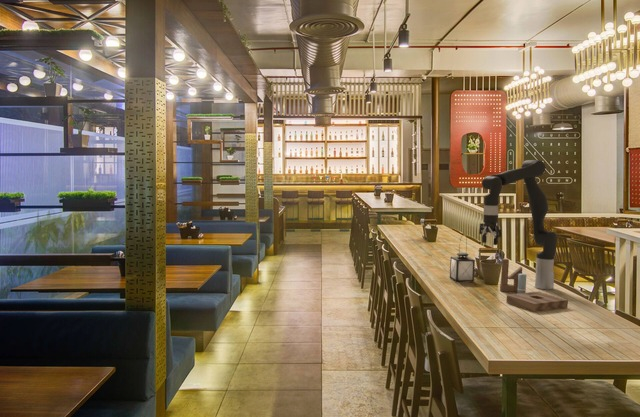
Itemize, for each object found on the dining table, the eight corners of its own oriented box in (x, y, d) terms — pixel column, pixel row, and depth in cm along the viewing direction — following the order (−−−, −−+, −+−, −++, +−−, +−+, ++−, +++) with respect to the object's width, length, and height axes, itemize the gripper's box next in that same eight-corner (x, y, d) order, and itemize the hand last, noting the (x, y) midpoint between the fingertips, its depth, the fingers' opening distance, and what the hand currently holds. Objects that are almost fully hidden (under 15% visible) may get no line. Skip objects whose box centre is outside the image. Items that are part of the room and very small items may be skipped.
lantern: (466, 277, 313) (468, 233, 311) (474, 281, 302) (476, 235, 300) (449, 277, 312) (451, 233, 310) (456, 281, 301) (458, 235, 299)
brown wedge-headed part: (521, 292, 277) (522, 260, 275) (500, 291, 279) (502, 259, 277) (519, 291, 280) (521, 259, 279) (499, 289, 282) (501, 258, 281)
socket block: (538, 298, 264) (539, 291, 263) (567, 307, 247) (568, 299, 247) (506, 302, 255) (506, 294, 255) (534, 312, 239) (534, 303, 238)
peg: (521, 295, 271) (522, 273, 270) (527, 297, 267) (528, 274, 266) (515, 295, 269) (516, 273, 268) (521, 297, 265) (522, 275, 264)
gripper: (506, 214, 263) (504, 245, 264) (487, 212, 276) (486, 241, 277) (494, 215, 260) (493, 246, 261) (476, 212, 273) (475, 242, 274)
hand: (489, 243), depth 269 cm, fingers open, 8 cm apart
